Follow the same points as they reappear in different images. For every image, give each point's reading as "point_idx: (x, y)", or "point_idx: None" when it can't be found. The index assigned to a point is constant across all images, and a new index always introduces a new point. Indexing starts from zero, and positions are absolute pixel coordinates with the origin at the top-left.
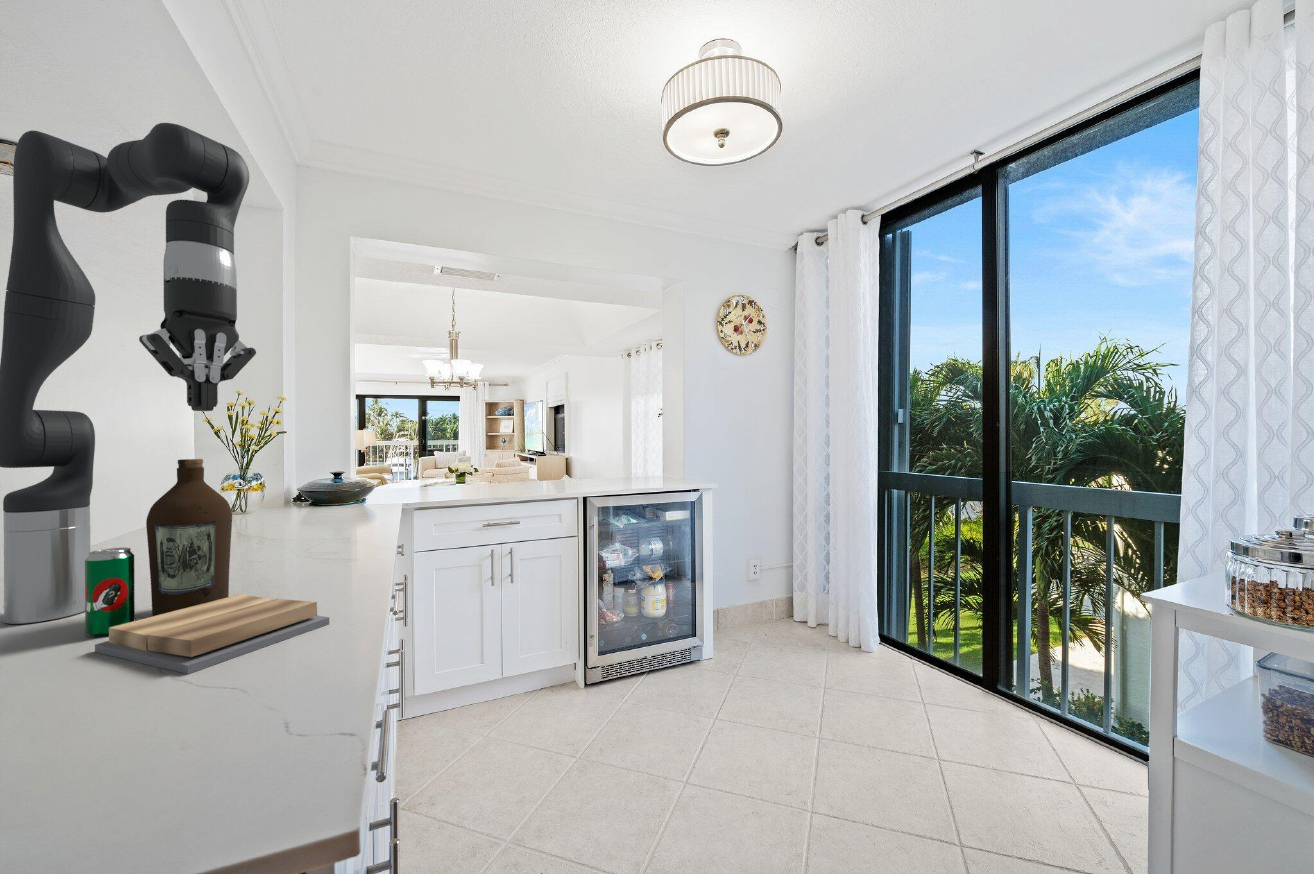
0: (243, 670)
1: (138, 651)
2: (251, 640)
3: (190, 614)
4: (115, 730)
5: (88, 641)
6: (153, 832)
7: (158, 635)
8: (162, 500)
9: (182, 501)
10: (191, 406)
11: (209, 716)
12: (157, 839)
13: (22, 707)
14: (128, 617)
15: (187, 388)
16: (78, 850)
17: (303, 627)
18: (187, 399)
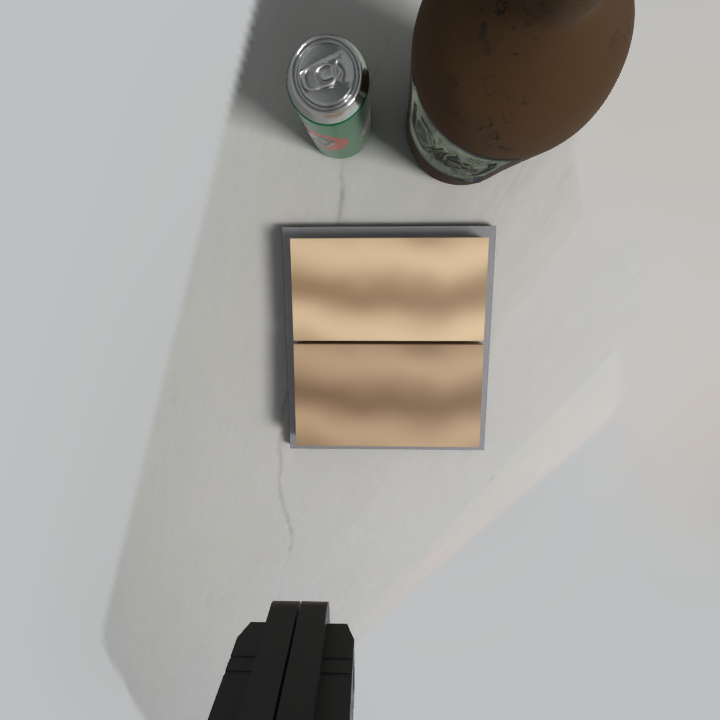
0: (324, 493)
1: (291, 329)
2: None
3: (376, 290)
4: (195, 517)
5: (303, 152)
6: (149, 683)
7: (296, 367)
8: (449, 22)
9: (472, 93)
10: (271, 607)
11: (245, 568)
12: (147, 691)
13: (174, 368)
14: (351, 152)
15: (211, 714)
16: (122, 661)
17: (440, 449)
18: (232, 655)
